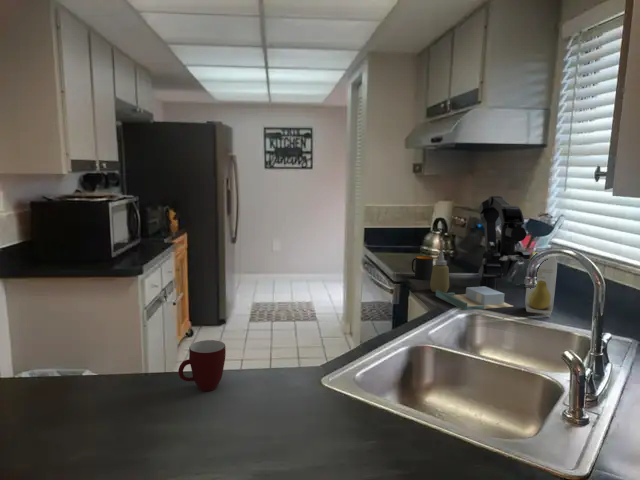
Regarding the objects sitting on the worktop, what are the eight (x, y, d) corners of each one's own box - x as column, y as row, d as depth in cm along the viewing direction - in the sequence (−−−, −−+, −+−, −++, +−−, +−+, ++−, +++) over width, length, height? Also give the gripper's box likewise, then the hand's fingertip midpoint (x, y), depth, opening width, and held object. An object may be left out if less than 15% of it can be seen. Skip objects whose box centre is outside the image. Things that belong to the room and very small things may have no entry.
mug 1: (187, 402, 101) (186, 358, 99) (174, 388, 107) (173, 346, 106) (231, 389, 107) (231, 348, 105) (216, 377, 113) (216, 337, 112)
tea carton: (484, 295, 193) (485, 286, 192) (503, 303, 181) (504, 293, 181) (465, 297, 190) (466, 287, 189) (484, 305, 179) (484, 295, 178)
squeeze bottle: (450, 296, 195) (453, 254, 192) (431, 296, 195) (434, 253, 192) (446, 291, 203) (448, 250, 200) (427, 291, 203) (429, 250, 200)
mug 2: (417, 274, 237) (418, 254, 235) (435, 279, 227) (436, 258, 226) (405, 276, 232) (406, 255, 230) (423, 281, 222) (425, 259, 221)
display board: (481, 295, 197) (481, 287, 196) (513, 309, 178) (514, 300, 178) (435, 298, 190) (436, 290, 190) (464, 313, 171) (465, 303, 171)
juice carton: (524, 315, 171) (530, 250, 168) (523, 309, 178) (529, 247, 175) (552, 318, 168) (559, 253, 164) (550, 312, 175) (557, 249, 171)
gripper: (513, 234, 195) (510, 271, 197) (475, 235, 189) (472, 272, 192) (533, 238, 185) (529, 276, 187) (493, 239, 179) (490, 279, 181)
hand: (504, 276), depth 187 cm, fingers closed
